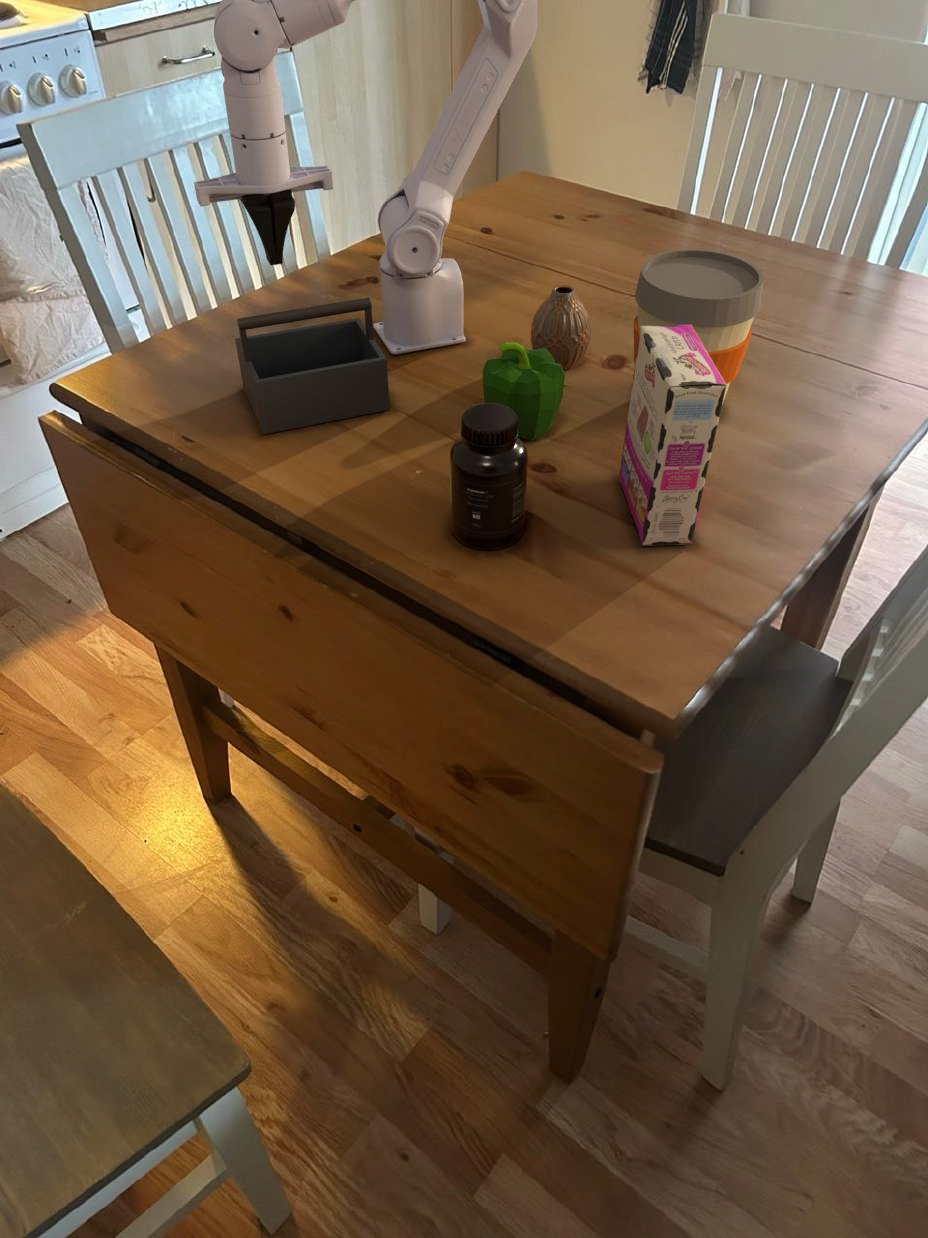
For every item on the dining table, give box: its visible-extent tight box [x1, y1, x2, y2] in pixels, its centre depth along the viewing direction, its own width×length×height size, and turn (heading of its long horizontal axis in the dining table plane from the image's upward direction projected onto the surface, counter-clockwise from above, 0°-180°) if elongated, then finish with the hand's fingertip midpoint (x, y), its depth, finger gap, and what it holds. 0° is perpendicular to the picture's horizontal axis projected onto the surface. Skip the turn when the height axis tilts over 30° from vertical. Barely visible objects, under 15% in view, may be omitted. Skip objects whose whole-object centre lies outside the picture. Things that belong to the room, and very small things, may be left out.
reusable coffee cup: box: [633, 248, 764, 405], centre depth 100 cm, size 13×13×15 cm
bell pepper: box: [482, 341, 566, 441], centre depth 99 cm, size 8×8×10 cm
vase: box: [530, 284, 592, 370], centre depth 110 cm, size 7×7×9 cm
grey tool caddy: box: [234, 297, 391, 435], centre depth 103 cm, size 10×14×11 cm
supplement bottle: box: [449, 402, 529, 551], centre depth 85 cm, size 7×7×12 cm
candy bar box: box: [618, 325, 727, 547], centre depth 86 cm, size 11×5×16 cm, turn 5°
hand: (274, 261), depth 108 cm, fingers closed
